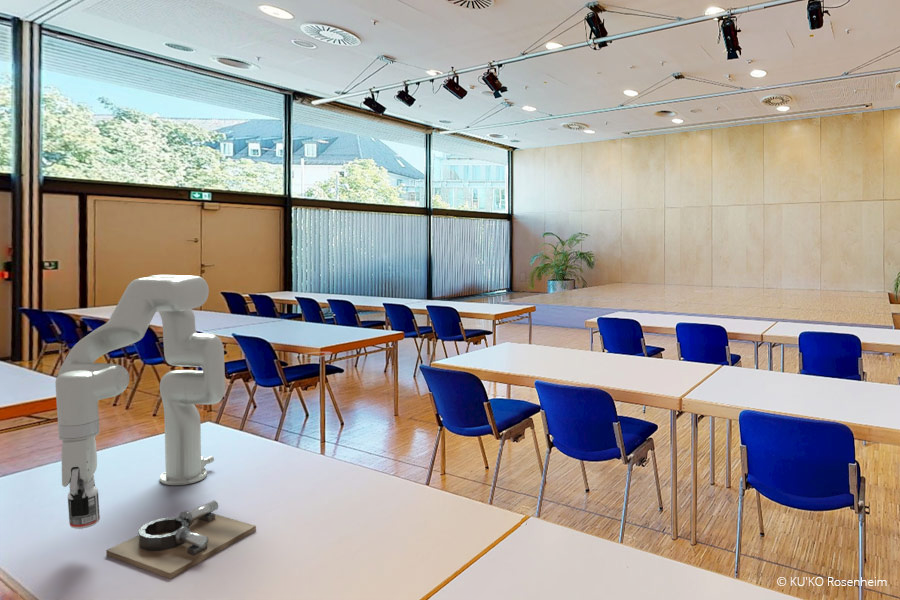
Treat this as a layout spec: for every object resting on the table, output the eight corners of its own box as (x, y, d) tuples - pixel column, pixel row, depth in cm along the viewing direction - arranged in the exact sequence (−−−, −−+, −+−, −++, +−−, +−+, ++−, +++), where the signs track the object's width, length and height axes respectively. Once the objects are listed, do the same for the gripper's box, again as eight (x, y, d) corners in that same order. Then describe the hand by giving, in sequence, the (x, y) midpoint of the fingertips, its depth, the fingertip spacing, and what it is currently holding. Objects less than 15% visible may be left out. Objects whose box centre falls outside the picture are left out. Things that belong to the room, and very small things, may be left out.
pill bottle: (78, 517, 136) (75, 475, 135) (104, 516, 137) (102, 474, 135) (64, 530, 130) (61, 486, 129) (91, 529, 131) (89, 485, 130)
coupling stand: (196, 513, 154) (195, 492, 154) (255, 530, 146) (255, 508, 145) (106, 555, 133) (105, 531, 132) (170, 578, 124) (169, 552, 124)
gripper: (69, 418, 138) (74, 494, 140) (47, 444, 122) (52, 529, 124) (107, 415, 140) (111, 490, 142) (89, 440, 124) (94, 524, 126)
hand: (83, 507), depth 133 cm, fingers closed on pill bottle, 5 cm apart
